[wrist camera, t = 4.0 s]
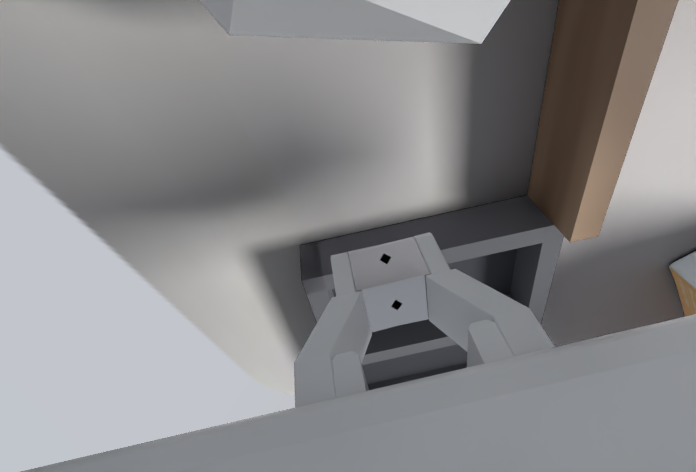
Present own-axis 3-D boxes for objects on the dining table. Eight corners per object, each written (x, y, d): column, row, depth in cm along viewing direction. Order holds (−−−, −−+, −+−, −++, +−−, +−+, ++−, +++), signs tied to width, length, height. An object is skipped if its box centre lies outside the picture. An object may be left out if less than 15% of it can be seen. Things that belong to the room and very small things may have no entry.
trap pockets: (538, 192, 15) (567, 222, 14) (508, 354, 23) (525, 384, 22) (299, 245, 16) (301, 280, 14) (348, 389, 23) (353, 422, 22)
